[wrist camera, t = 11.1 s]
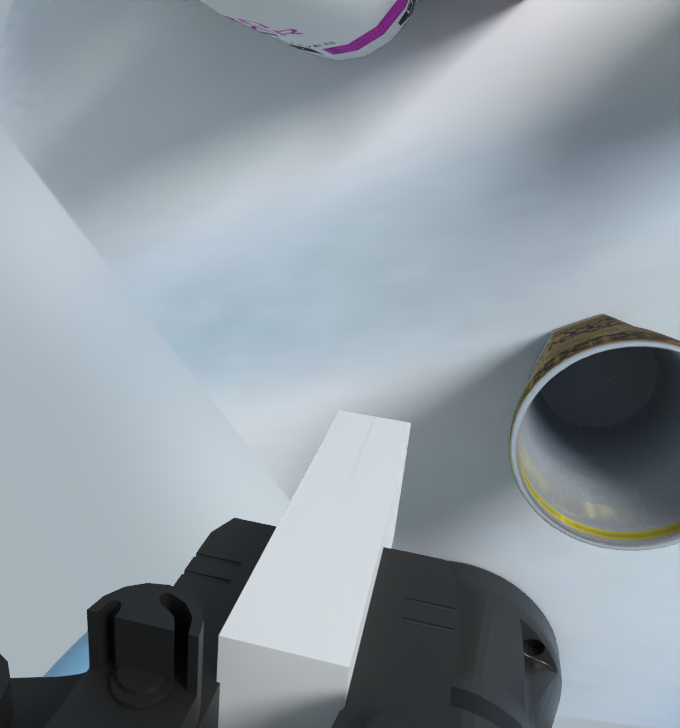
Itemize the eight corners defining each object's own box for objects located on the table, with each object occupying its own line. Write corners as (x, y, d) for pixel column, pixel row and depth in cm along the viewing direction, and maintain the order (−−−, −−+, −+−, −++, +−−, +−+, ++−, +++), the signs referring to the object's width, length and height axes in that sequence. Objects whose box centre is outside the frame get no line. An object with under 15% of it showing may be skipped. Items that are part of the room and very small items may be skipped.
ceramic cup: (475, 408, 39) (471, 494, 30) (553, 256, 35) (577, 300, 26) (680, 497, 38) (742, 614, 29) (784, 351, 34) (893, 431, 25)
